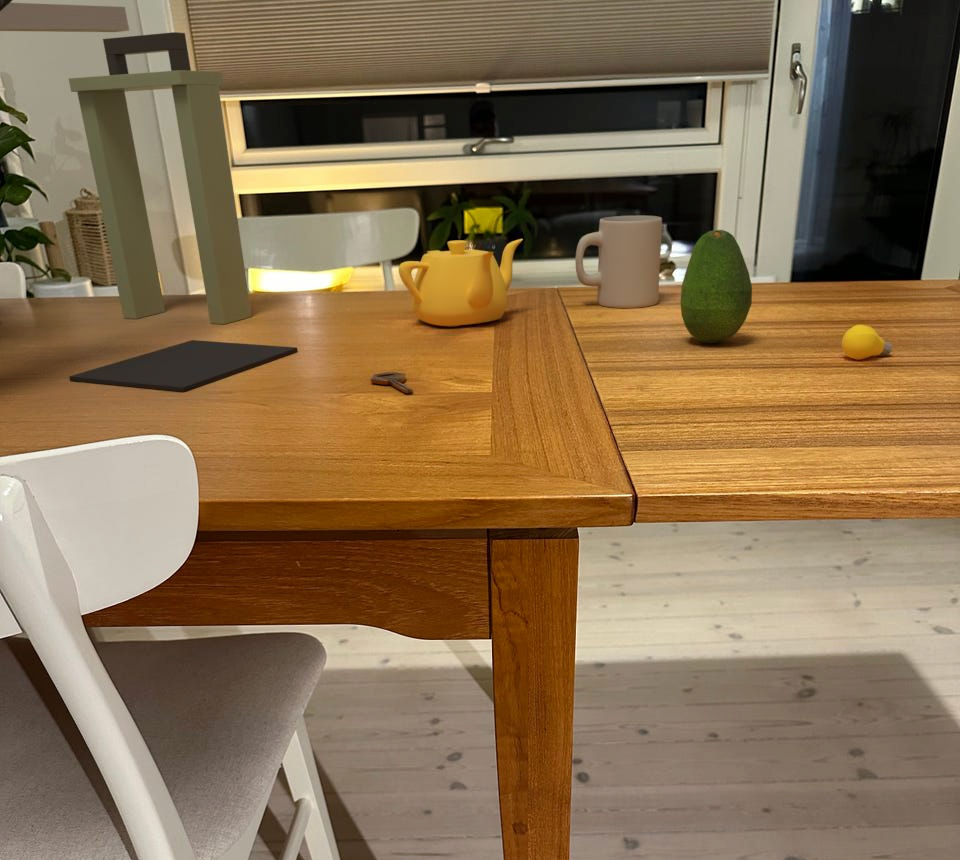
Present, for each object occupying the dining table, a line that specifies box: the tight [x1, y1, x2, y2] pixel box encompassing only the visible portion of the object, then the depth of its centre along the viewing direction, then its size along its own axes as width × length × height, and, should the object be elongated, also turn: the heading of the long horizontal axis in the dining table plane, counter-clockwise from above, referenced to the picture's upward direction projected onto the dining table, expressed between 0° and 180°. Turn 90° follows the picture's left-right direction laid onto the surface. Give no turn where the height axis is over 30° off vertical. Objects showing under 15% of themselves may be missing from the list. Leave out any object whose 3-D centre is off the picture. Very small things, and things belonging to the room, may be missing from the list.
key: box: [370, 371, 414, 394], centre depth 96 cm, size 4×8×1 cm, turn 26°
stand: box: [68, 31, 252, 325], centre depth 129 cm, size 18×8×34 cm, turn 64°
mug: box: [574, 215, 663, 309], centre depth 132 cm, size 12×8×11 cm
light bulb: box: [841, 324, 893, 361], centre depth 100 cm, size 3×6×4 cm, turn 108°
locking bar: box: [0, 2, 130, 33], centre depth 96 cm, size 2×24×2 cm, turn 154°
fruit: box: [679, 229, 753, 344], centre depth 107 cm, size 8×8×12 cm
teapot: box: [398, 238, 524, 328], centre depth 125 cm, size 14×13×10 cm
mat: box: [68, 339, 299, 393], centre depth 108 cm, size 16×20×1 cm
